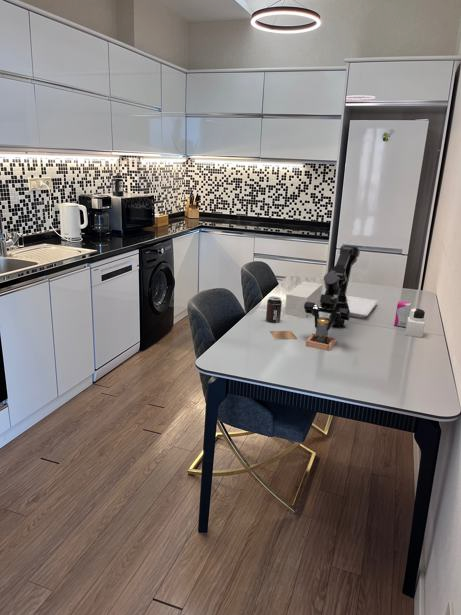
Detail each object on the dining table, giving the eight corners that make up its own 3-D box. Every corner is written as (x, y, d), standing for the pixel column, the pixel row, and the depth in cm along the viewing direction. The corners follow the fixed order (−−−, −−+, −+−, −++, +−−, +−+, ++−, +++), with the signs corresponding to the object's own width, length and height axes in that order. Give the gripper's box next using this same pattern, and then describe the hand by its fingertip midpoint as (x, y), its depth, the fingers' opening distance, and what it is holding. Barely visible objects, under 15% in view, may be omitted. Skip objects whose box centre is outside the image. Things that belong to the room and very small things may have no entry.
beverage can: (279, 325, 215) (281, 300, 211) (264, 323, 216) (266, 299, 213) (280, 320, 221) (282, 296, 218) (266, 319, 223) (268, 295, 219)
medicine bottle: (421, 333, 215) (426, 308, 212) (422, 338, 209) (426, 313, 205) (405, 330, 218) (409, 306, 214) (405, 335, 211) (410, 310, 208)
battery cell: (320, 338, 196) (322, 316, 193) (329, 342, 192) (332, 319, 189) (312, 341, 192) (314, 318, 189) (321, 344, 189) (324, 321, 186)
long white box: (305, 318, 228) (307, 297, 224) (284, 314, 231) (286, 294, 228) (320, 302, 256) (322, 283, 252) (301, 299, 260) (303, 281, 256)
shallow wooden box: (311, 340, 199) (312, 333, 198) (334, 344, 195) (335, 338, 194) (305, 347, 190) (306, 340, 190) (329, 352, 187) (330, 345, 186)
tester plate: (291, 332, 207) (291, 330, 206) (297, 340, 197) (297, 339, 197) (269, 332, 205) (269, 331, 205) (275, 341, 195) (275, 339, 195)
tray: (333, 315, 235) (334, 308, 234) (346, 300, 262) (347, 295, 261) (366, 321, 228) (367, 315, 227) (377, 306, 256) (378, 300, 255)
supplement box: (407, 324, 226) (411, 302, 223) (406, 328, 221) (410, 305, 217) (395, 322, 228) (398, 300, 225) (393, 326, 223) (397, 303, 220)
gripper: (307, 283, 192) (297, 315, 186) (352, 290, 185) (343, 323, 179) (310, 296, 202) (300, 327, 195) (353, 303, 194) (344, 336, 188)
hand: (321, 328), depth 189 cm, fingers closed on battery cell, 5 cm apart
